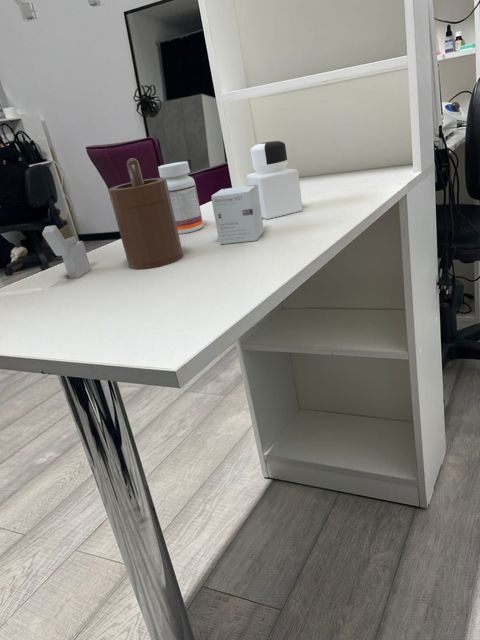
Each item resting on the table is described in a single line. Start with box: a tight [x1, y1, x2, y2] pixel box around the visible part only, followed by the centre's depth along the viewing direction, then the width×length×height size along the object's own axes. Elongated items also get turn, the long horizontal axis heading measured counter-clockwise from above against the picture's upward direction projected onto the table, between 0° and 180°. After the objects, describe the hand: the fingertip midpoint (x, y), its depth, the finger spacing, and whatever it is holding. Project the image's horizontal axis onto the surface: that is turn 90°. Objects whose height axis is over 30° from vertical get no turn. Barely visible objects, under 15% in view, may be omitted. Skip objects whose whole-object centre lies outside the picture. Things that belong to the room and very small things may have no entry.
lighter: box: [41, 224, 92, 280], centre depth 76 cm, size 7×2×8 cm, turn 172°
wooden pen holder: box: [107, 177, 184, 270], centre depth 77 cm, size 8×8×11 cm
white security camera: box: [246, 140, 304, 220], centre depth 95 cm, size 7×7×12 cm
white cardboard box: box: [210, 185, 265, 245], centre depth 82 cm, size 6×6×7 cm
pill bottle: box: [157, 161, 204, 235], centre depth 94 cm, size 6×6×11 cm
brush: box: [126, 157, 144, 187], centre depth 76 cm, size 4×4×14 cm
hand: (63, 12), depth 71 cm, fingers open, 8 cm apart
